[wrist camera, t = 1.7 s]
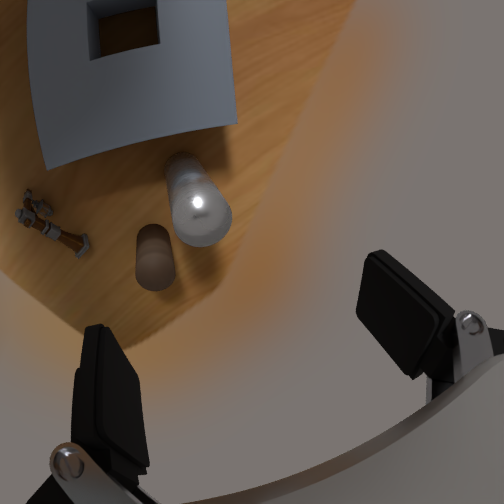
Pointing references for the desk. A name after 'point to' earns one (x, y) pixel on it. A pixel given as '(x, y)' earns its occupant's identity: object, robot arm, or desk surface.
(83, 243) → the wooden post with brackets
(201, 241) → the long pin
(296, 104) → the desk surface
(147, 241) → the short pin
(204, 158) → the desk surface
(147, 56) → the hole block
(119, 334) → the desk surface
